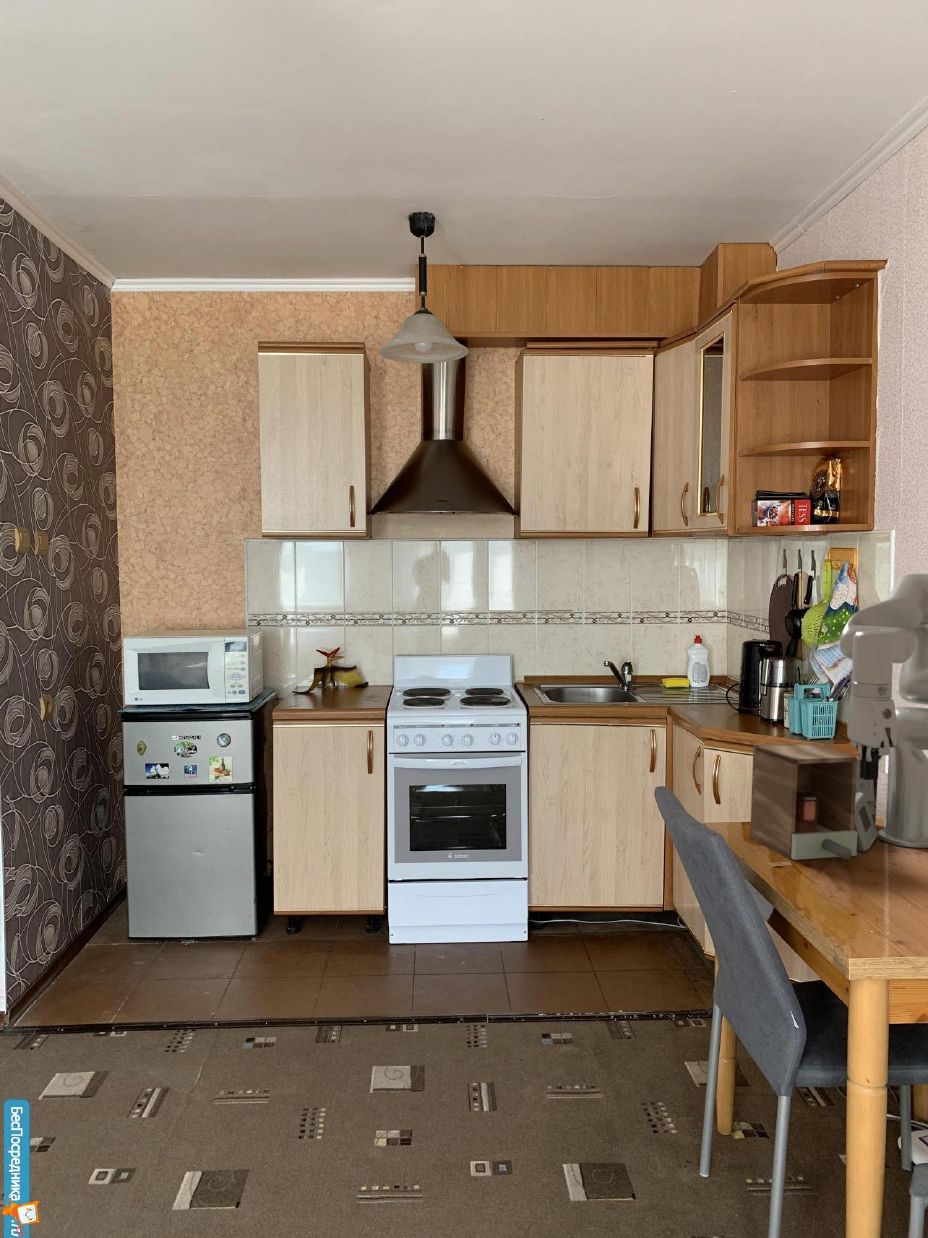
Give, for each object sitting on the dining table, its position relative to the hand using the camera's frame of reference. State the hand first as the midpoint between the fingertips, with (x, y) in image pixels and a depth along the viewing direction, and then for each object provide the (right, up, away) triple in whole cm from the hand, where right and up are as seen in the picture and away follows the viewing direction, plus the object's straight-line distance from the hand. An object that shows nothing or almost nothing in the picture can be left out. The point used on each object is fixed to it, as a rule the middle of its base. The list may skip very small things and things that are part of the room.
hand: (868, 778), depth 190 cm
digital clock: (+9, -20, +24) cm, 32 cm away
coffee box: (+15, -19, +39) cm, 46 cm away
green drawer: (-5, -19, +17) cm, 26 cm away
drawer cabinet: (-6, -19, +22) cm, 30 cm away
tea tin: (-6, -17, +20) cm, 27 cm away
